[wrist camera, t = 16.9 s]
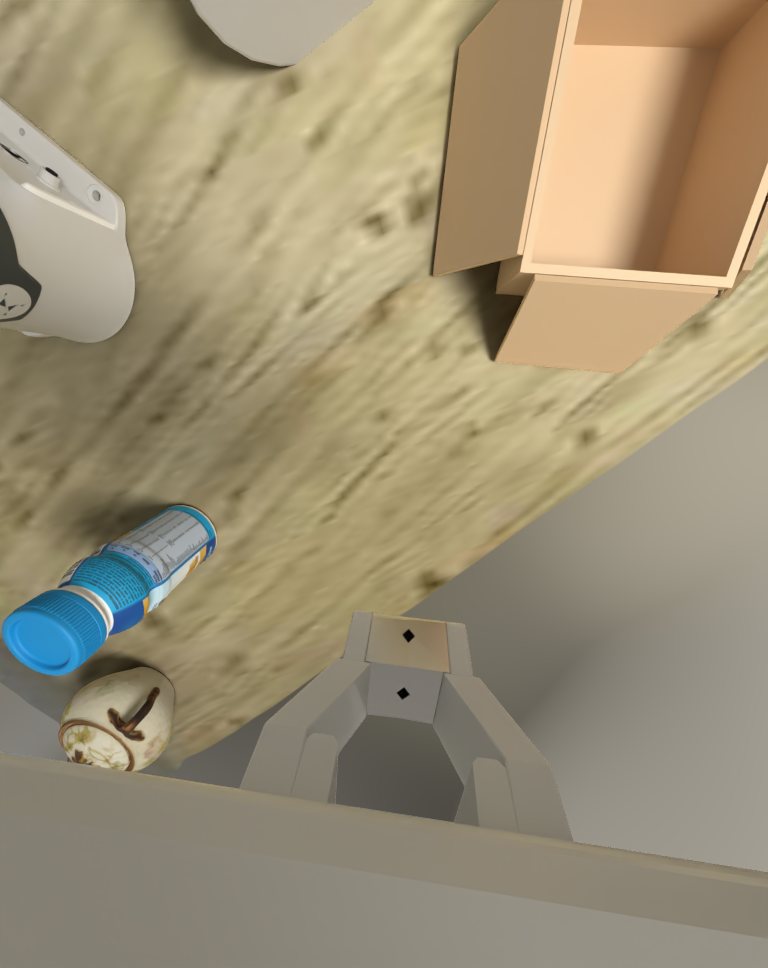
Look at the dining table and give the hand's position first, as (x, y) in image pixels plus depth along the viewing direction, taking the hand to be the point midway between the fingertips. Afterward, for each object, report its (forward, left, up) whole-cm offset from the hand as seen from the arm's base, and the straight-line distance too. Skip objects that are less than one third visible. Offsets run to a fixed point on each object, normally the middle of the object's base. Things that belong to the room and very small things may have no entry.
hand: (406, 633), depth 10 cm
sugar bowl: (+6, -61, -32) cm, 69 cm away
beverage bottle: (-8, -33, -32) cm, 46 cm away
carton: (-5, +22, -32) cm, 39 cm away
